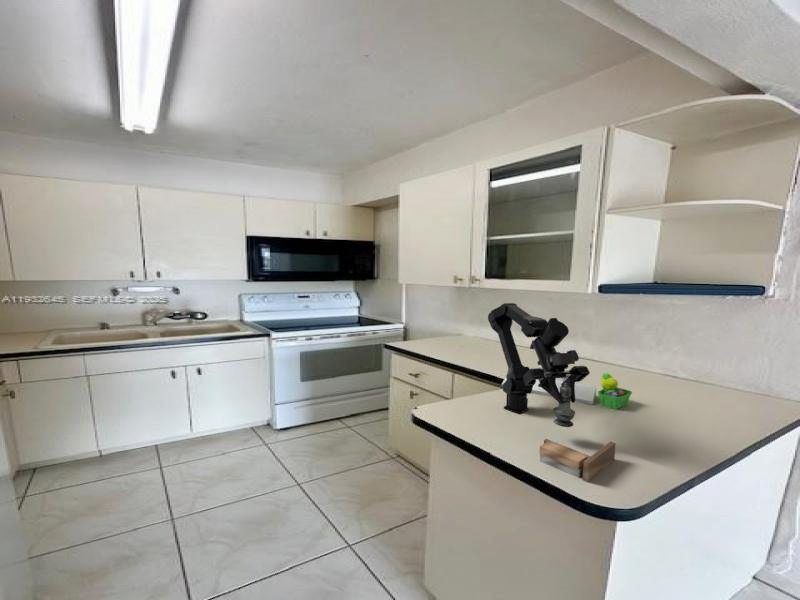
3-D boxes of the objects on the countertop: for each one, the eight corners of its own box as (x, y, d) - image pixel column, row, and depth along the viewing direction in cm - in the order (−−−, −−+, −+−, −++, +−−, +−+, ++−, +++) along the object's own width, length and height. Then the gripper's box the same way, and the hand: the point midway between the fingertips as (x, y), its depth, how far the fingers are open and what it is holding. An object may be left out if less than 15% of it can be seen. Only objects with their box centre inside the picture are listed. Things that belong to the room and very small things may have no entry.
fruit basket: (617, 411, 133) (619, 381, 131) (592, 404, 140) (594, 374, 139) (632, 404, 139) (634, 375, 138) (607, 397, 146) (609, 369, 145)
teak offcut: (539, 453, 97) (539, 446, 97) (547, 448, 100) (547, 441, 100) (578, 470, 90) (578, 462, 90) (585, 464, 92) (586, 456, 92)
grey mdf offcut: (539, 461, 98) (540, 453, 97) (547, 455, 100) (547, 448, 100) (579, 477, 90) (579, 469, 90) (585, 471, 93) (586, 463, 93)
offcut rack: (534, 463, 99) (535, 441, 98) (563, 444, 109) (564, 425, 108) (587, 487, 89) (588, 463, 88) (613, 464, 98) (615, 443, 98)
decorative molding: (592, 412, 140) (595, 397, 148) (592, 401, 138) (596, 386, 146) (502, 393, 158) (509, 381, 166) (501, 383, 157) (509, 371, 164)
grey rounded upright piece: (554, 426, 106) (557, 385, 104) (550, 417, 111) (552, 378, 110) (577, 428, 105) (579, 386, 103) (571, 419, 110) (574, 379, 109)
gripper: (530, 341, 107) (551, 392, 98) (587, 339, 111) (613, 388, 102) (515, 360, 116) (533, 409, 106) (569, 357, 120) (590, 404, 110)
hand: (567, 402), depth 106 cm, fingers closed on grey rounded upright piece, 3 cm apart
